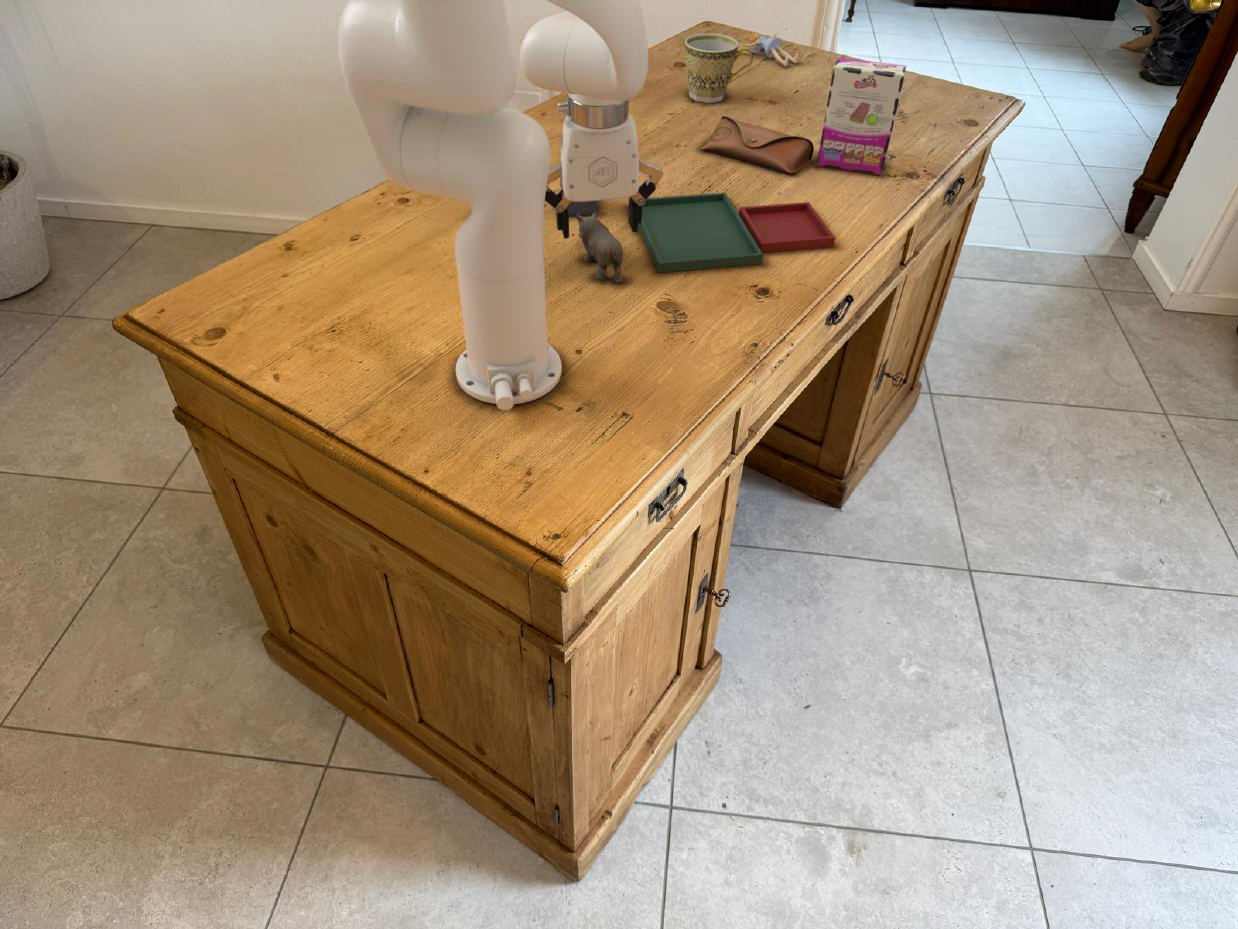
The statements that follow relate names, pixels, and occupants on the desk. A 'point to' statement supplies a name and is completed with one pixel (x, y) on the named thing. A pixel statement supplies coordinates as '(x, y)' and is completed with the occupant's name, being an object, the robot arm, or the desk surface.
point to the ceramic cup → (711, 65)
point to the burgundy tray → (786, 227)
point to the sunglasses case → (760, 146)
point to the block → (581, 206)
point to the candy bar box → (860, 115)
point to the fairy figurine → (771, 48)
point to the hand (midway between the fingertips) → (599, 230)
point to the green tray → (696, 233)
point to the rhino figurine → (600, 246)
